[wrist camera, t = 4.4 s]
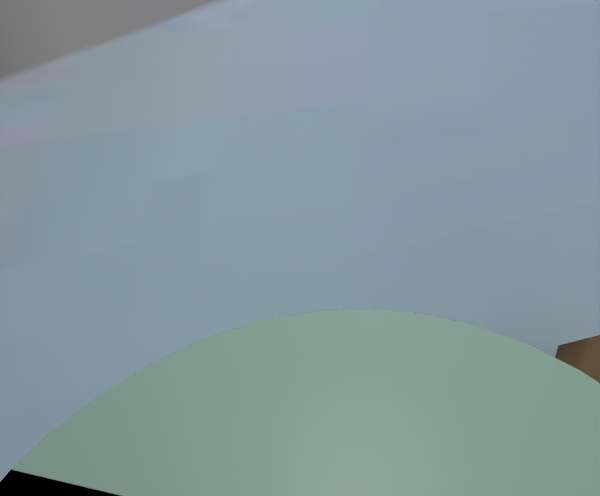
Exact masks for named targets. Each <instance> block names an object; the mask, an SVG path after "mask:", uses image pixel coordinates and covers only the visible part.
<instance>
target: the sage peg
mask: <svg viewBox="0 0 600 496" xmlns="http://www.w3.org/2000/svg"><path fill="white" fill-rule="evenodd" d="M0 496H600V383H599V382H597V381H595V380H594V379H592V378H591V377H589V376H588V375H586V374H585V373H583V372H582V371H580V370H578V369H576V368H574V367H572V366H570V365H568V364H566V363H564V362H562V361H560V360H558V359H556V358H554V357H553V356H551V355H549V354H547V353H545V352H543V351H541V350H539V349H537V348H535V347H533V346H531V345H529V344H526V343H523V342H520V341H518V340H515V339H512V338H509V337H507V336H504V335H501V334H498V333H496V332H493V331H490V330H487V329H485V328H482V327H479V326H476V325H471V324H467V323H463V322H458V321H454V320H450V319H445V318H441V317H437V316H432V315H428V314H420V313H410V312H400V311H390V310H380V309H355V310H322V311H315V312H309V313H303V314H297V315H291V316H285V317H278V318H272V319H267V320H264V321H260V322H257V323H253V324H250V325H247V326H243V327H240V328H237V329H233V330H230V331H227V332H223V333H220V334H217V335H213V336H211V337H209V338H207V339H204V340H202V341H200V342H198V343H195V344H193V345H191V346H188V347H186V348H184V349H182V350H179V351H177V352H175V353H173V354H170V355H168V356H166V357H163V358H161V359H159V360H157V361H156V362H154V363H152V364H151V365H149V366H147V367H145V368H144V369H142V370H140V371H139V372H137V373H135V374H134V375H132V376H130V377H129V378H127V379H125V380H124V381H122V382H120V383H119V384H117V385H115V386H113V387H112V388H110V389H108V390H107V391H105V392H103V393H102V394H101V395H100V396H98V397H97V398H96V399H94V400H93V401H92V402H90V403H89V404H88V405H86V406H85V407H84V408H82V409H81V410H80V411H78V412H77V413H76V414H75V415H73V416H72V417H71V418H69V419H68V420H67V421H65V422H64V423H63V424H61V425H60V426H59V427H57V428H56V429H55V430H53V431H52V432H51V433H50V434H48V435H47V436H46V437H45V438H44V439H43V440H42V441H41V442H40V443H39V444H38V445H37V446H36V447H34V448H33V449H32V450H31V451H30V452H29V453H28V454H27V455H26V456H25V457H24V458H23V459H22V460H21V461H20V462H19V463H18V464H17V465H15V466H14V467H13V468H12V469H11V470H10V472H9V473H8V474H7V475H6V476H5V477H4V478H3V479H2V481H1V482H0Z"/></svg>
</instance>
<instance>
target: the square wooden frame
mask: <svg viewBox="0 0 600 496" xmlns="http://www.w3.org/2000/svg"><path fill="white" fill-rule="evenodd" d="M556 359H558V360H560V361H562V362H564V363H566V364H568V365H570V366H572V367H574V368H576V369H578V370H580V371H582V372H583V373H585V374H586V375H588V376H589V377H591V378H592V379H594V380H595V381H597V382H599V383H600V335H598V336H595V337H591V338H587V339H583V340H579V341H575V342H571V343H567V344H563V345H560V346H559V347H558V350H557V354H556Z"/></svg>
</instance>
